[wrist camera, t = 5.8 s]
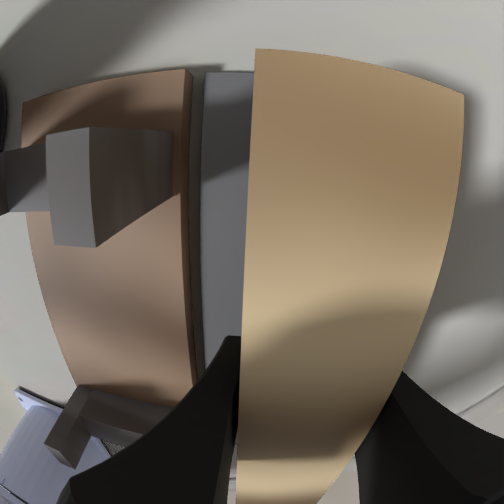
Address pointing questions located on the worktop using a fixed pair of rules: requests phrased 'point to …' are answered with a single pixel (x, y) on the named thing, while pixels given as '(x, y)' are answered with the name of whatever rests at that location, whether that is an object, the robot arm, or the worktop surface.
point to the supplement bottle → (2, 112)
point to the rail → (335, 258)
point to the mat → (224, 204)
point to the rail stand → (111, 247)
